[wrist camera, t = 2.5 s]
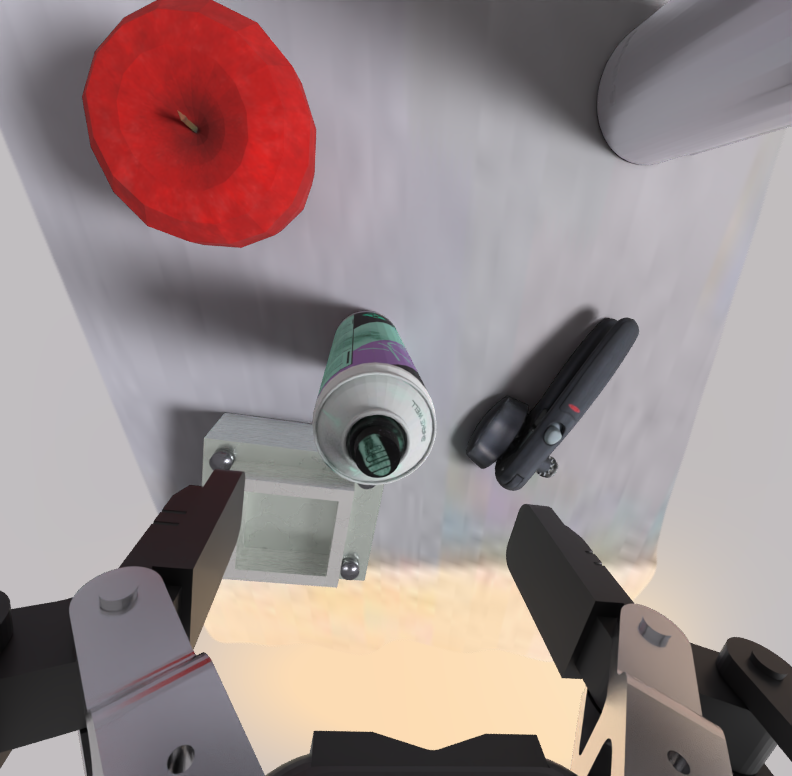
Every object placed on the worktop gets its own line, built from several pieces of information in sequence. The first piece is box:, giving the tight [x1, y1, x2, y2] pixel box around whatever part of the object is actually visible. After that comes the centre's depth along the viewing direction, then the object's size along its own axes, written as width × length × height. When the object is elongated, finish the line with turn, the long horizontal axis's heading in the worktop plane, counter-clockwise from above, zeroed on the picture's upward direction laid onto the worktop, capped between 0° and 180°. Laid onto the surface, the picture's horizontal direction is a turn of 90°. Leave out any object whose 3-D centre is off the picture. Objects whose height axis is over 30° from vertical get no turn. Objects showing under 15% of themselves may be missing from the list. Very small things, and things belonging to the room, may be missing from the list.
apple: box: [82, 0, 316, 248], centre depth 22 cm, size 11×10×14 cm
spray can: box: [312, 311, 437, 485], centre depth 24 cm, size 6×6×20 cm
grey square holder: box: [202, 413, 384, 587], centre depth 34 cm, size 14×12×8 cm
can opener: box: [466, 318, 639, 491], centre depth 34 cm, size 18×7×6 cm, turn 141°
